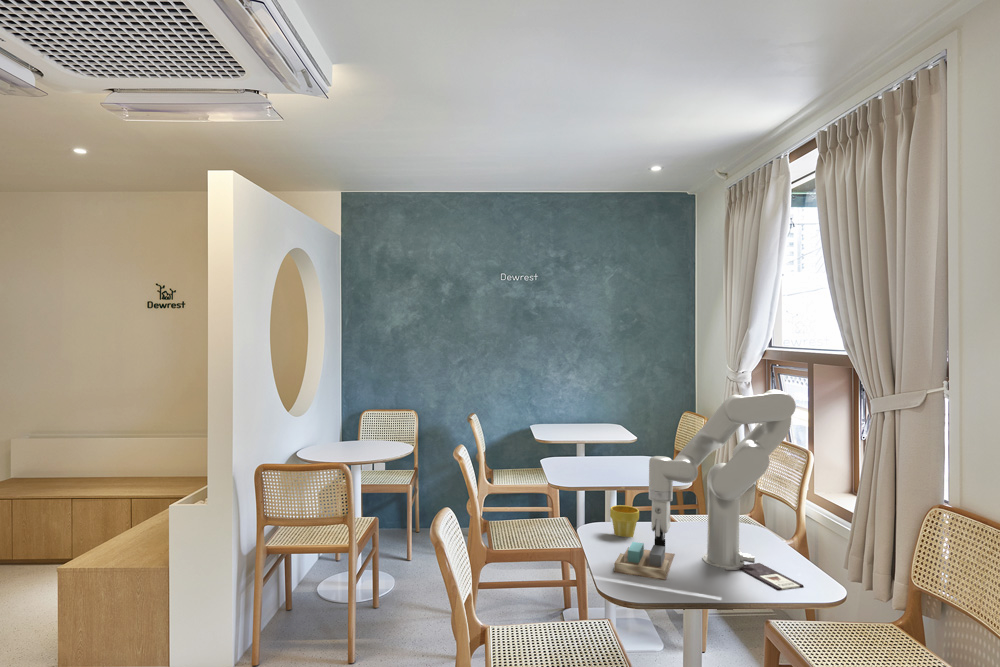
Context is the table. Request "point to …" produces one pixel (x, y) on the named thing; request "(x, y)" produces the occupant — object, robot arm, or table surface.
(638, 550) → the aqua foam brick
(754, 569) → the chocolate bar
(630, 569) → the comb board
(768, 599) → the table surface
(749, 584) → the table surface
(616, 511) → the plant pot
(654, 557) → the grey rectangular block
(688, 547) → the table surface
